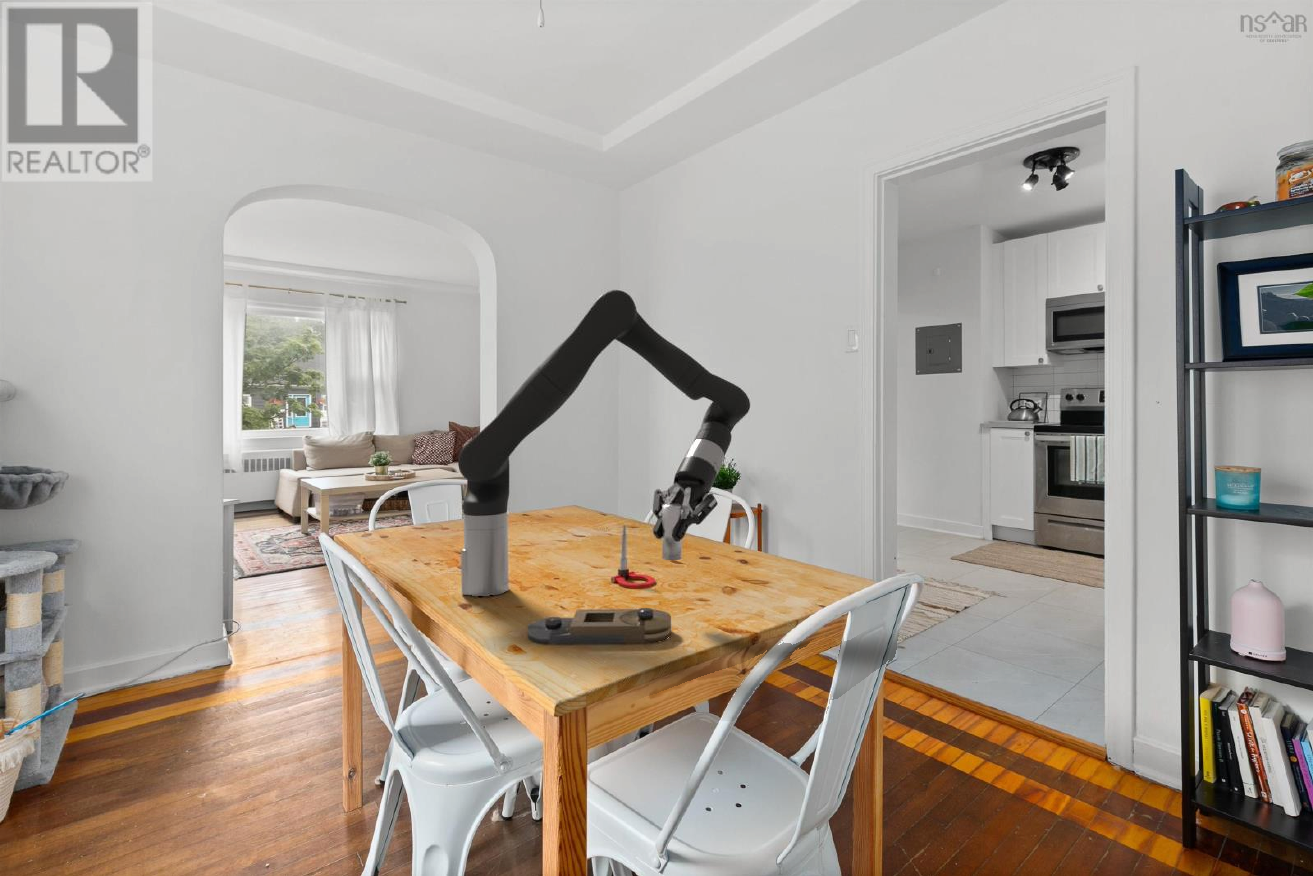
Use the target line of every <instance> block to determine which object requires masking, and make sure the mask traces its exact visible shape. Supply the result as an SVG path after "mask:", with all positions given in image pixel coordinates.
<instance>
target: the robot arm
mask: <svg viewBox="0 0 1313 876" xmlns="http://www.w3.org/2000/svg"><path fill="white" fill-rule="evenodd" d="M614 340H615V341H617V342H619V343H621V344H622V345H624V346H626V347H627V348H629V349H631V351H633V352H635V353H636V354H637V355H639V356H640V357H642V358H643V359H644V360H645V361H646V362H648V363H649V364H650V365H651V366H652V368H654V369H655V370H657V372H659V373H660V374H661V375H662V376H663V377H664V378H665V379H666V380H667V381H669V383H671V384H672V385H673V386H675V387H676V388H677V389H678V390H679V391H680V392H682V393H683V394H684V395H685V396H686V397H687V398H689V399H691V400H692V401H698V400H701V399H702V398H705V399H708V400H710V401H711V403H710V405H709V406H708V408H707V410H706V411H705V413H704V415H703V419H702V422H701V425H700V426H701V427H700V429H699V430H698V432H697V434H696V435H695V438H694V439H693V442H692V444H691V445H690V446H689V448H688V449H687V451H686V453H685V454H684V457H683V458H682V460H681V463H680V465H679V466H678V469H677V471H676V473H675V474H674V479H673V483H672V484H671V485H670V486H669V487H668V488H667V489H666V490H662V491H661V489H659V488H656V489H655V490H654V492H653V493H654V494H653V503H652V513H653V514H654V516H655V518H656V519H657V520H656V522H655V525H654V526H653V528H652V532H653V533H652V534H653V535H654V537H655V539H657V540H662V505H663V504H680V505H681V509H682V515H681V518H682V519H679V520H678V522H677V525H676V527H675V529H674V531H673V533H672V537H673V539H674V540H675V541H677V542H679V541H680V540H681V539H682V540H683V539H684V538H685V535H686V534H687V531H688V529H689V528H690V527H691V526H692V525H694V524H695V525H697V526H698V525H700V524H701V523H702V522H703V521H705V520H706V518H707V517H708V516H709V515H710V513H712V511H713V510H714V509H715V508H716V507H717V506H718V502H717V499H716V497H715V496H714V494H713V493H710V491H711V490H712V487H713V485H714V483H715V481H716V478H717V476H718V475H719V472H720V470H721V468H722V465H723V462H724V458H725V456H726V454H727V452H728V450H729V448H730V445H731V442H732V432H733V429H734V428H735V426H736V425H737V424H738V423H740V421H741V420H742V419H743V418H744V417H746V415H747V414H748V413H749V411H750V408H751V401H750V399H749V397H748V395H747V394H746V392H745V391H744V390H743V389H742V388H741V387H739V386H738V385H736V384H734V383H733V382H731V381H728V380H727V379H724V378H723V377H720V376H718V375H716V374H713V373H711V372H710V371H709V370H708V369H706V368H705V367H704V366H703V365H702V364H701V363H699V362H698V361H697V360H696V359H694V358H693V357H692V356H691V355H689V354H688V353H687V352H686V351H684V350H682V349H680V347H678V346H676V345H675V344H674V343H672V342H670V341H669V340H667V339H666V338H665V337H663V336H662V335H661V334H660V333H658V332H657V331H656V330H655V329H653V328H652V327H651V325H649V324H648V323H647V321H646V320H645V319H644V318H643V317H642V315H640V313H639V312H638V310H637V307H636V304H635V301H634V300H633V298H632V296H631V295H630V294H628V293H627V292H625V291H623V290H619V289H612V290H607V291H605V292H603V293H602V294H601V295H599V297H597V299H596V300H595V301H594V302H593V303H592V305H591V306H590V307H589V309H588V311H587V312H586V313H585V315H584V316H583V318H582V319H581V320H580V321H579V323H578V325H577V326H576V327H575V328H574V330H572V332H571V333H570V334H569V335H568V336H567V337H566V338H565V339H564V340H563V341H562V342H561V343H560V344H559V345H558V346H557V347H555V348H554V349H553V351H552V352H551V353H550V354H549V355H548V356H547V357H546V358H545V359H544V360H543V361H542V362H541V363H540V364H539V365H538V366H537V367H536V368H535V369H534V371H532V373H531V374H530V375H529V376H528V377H527V379H526V380H524V382H523V383H522V384H521V385H520V387H519V388H518V390H516V392H514V394H513V395H512V396H511V398H510V399H509V400H508V402H507V403H506V404H505V406H504V407H503V408H502V409H501V411H500V412H499V413H498V414H497V416H495V417H494V419H492V421H490V423H489V424H488V425H486V426H485V427H484V428H483V429H482V430H481V431H480V432H478V434H477V435H475V436H474V437H473V438H472V439H470V441H469V442H467V443H466V444H465V445H464V446H463V448H461V451H460V453H459V456H458V461H457V464H458V465H457V467H458V470H459V472H460V474H461V475H462V477H463V478H464V479H465V480H466V481H467V482H466V483H467V485H466V493H465V497H464V500H463V503H462V504H463V505H462V510H463V512H462V513H463V514H462V515H463V516H462V517H463V548H462V549H461V550H460V562H461V563H460V565H461V595H464V596H467V595H468V596H470V595H472V596H471V597H478V596H483V597H491V596H490V595H493V596H497V595H501V594H504V592H505V593H506V591H507V592H508V591H509V589H510V588H509V587H510V583H509V581H510V579H509V536H508V535H509V531H508V526H509V525H508V523H509V522H508V504H509V498H510V497H509V496H510V456H512V453H513V452H514V451H515V450H516V449H517V447H518V446H519V445H520V444H521V442H522V441H524V439H526V438H527V437H528V436H529V435H530V434H531V433H532V432H534V431H536V429H538V428H540V427H541V426H542V425H543V424H544V423H546V421H548V420H549V419H550V418H551V417H552V416H553V415H554V414H555V413H557V412H558V410H559V409H560V408H561V407H562V406H563V405H564V404H565V403H566V402H567V401H568V399H570V398H571V396H572V395H573V394H574V393H575V392H576V390H577V388H579V386H580V385H581V383H582V381H583V380H584V378H585V377H586V375H587V374H588V372H589V370H590V368H591V366H593V363H594V362H595V361H596V359H597V358H598V357H599V355H600V354H601V353H602V352H603V351H604V350H605V349H606V348H607V347H609V346H610V344H611V343H612V342H613V341H614Z"/></svg>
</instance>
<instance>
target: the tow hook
mask: <svg viewBox="0 0 1313 876" xmlns="http://www.w3.org/2000/svg"><path fill="white" fill-rule="evenodd" d="M627 537H628V534H627V524H622V534H621V550H620V551H621V552H620V553H621V555H620V558H619V559H620V561H619V566H620V567H619V568H618V570H617V575H615V576H611V577H610V581H611V583H612V582H614V583H613V584H615V583H617V584H618V585H619V586H620V587H623V588H626V587H627V588H628V589H646V587H647V588H650V587H649V586H651V587H653V586H655V584H656V579H655V577H652V576H651V575H646V574H641V573H640V574H639V573H638V574H637V573H636V572H635V571H632V570H631V571H630V569H629V568H628V558H627V552H628V551H627V549H628V548H627V547H628V545H627V543H628V538H627ZM629 579H630V580H642V581H645V582H641V583H640V582H639V583H637V582H635V583H634V582H633V583H632V582H629V581H627V580H629ZM627 588H626V589H627Z"/></svg>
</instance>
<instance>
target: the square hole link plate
mask: <svg viewBox="0 0 1313 876" xmlns="http://www.w3.org/2000/svg"><path fill="white" fill-rule="evenodd" d="M526 631H527V634H526V635H527V639H528V640H529V641H531V642H533V643H535V644H541V645H628V644H627V643H632V644H631V645H637V644H638V645H643V644H645V645H646V643H650V644H656V643H655V642H657V643H660V642H659V641H661V642H664V641H667V640H668V639H669V638H670V637H672V615H671V614H669V612H667V611H664V610H660V609H653V608H650V607H641V608H623V609H622V608H621V609H620V608H618V609H612V608H608V609H607V608H606V609H603V608H602V609H600V608H599V609H597V608H596V609H593V608H592V609H586V608H585V609H576V611H575V613H574V616H573V617H559V616H551V617H547V618H544V619H543V618H542V619H539V620H536V621H533V622H531V623H530V624H528V626H527V628H526ZM669 636H670V637H669ZM668 637H669V638H668ZM667 638H668V639H667ZM666 639H667V640H666Z"/></svg>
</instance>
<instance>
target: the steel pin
mask: <svg viewBox="0 0 1313 876" xmlns="http://www.w3.org/2000/svg"><path fill="white" fill-rule="evenodd" d="M682 511H683V510H682V509H681V505H680V504H663V505H662V538H661V540H662V541H661V543H662V544H661V545H662V559H663V560H665V561H678V560H681V559H683V558H682V554H683V553H682V547H683V546H682V540H683V538H682V539H681V540H680V541H679V542H677V541H675V540H674V539H673V537H672V533H673V531H674V529H675V527H676V525H677V522H678V520H679V519H682V518H681V515H682Z"/></svg>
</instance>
